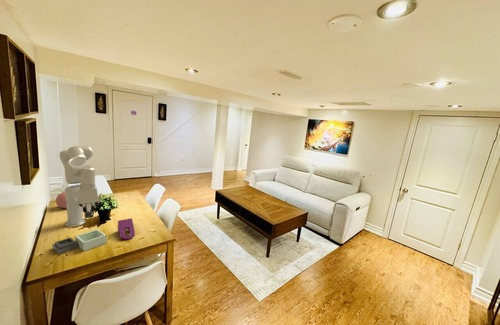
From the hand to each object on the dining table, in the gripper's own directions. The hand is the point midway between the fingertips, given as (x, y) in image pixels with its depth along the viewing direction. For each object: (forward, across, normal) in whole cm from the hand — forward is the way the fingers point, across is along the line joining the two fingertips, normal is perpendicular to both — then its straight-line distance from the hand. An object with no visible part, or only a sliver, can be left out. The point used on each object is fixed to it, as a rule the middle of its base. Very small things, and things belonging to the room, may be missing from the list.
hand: (88, 211), depth 137 cm
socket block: (+23, -13, +1) cm, 27 cm away
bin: (+23, +1, 0) cm, 23 cm away
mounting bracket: (+24, +22, +2) cm, 33 cm away
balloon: (+23, -14, +82) cm, 86 cm away
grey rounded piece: (+3, 0, 0) cm, 3 cm away
